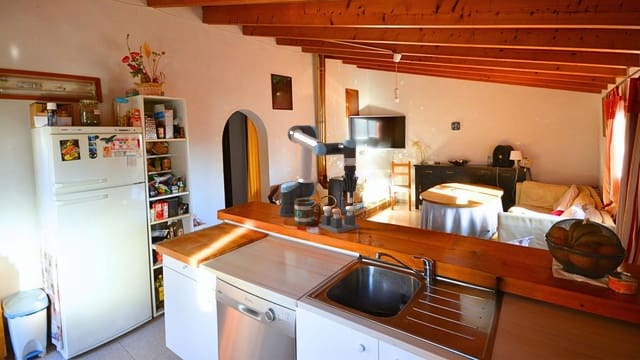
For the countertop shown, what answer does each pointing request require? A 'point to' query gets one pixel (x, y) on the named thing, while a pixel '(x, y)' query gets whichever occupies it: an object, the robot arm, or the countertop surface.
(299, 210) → the mug
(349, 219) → the knob mount
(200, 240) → the countertop surface
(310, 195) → the robot arm
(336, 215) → the terracotta knob
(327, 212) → the cream knob near
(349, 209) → the cream knob left
